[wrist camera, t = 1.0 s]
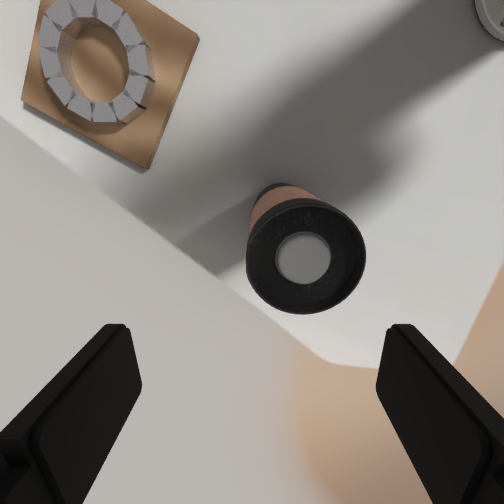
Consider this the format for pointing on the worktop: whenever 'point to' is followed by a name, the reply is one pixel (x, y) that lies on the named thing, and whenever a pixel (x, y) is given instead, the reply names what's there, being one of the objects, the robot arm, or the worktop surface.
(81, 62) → the board
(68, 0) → the grey segmented ring
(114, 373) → the robot arm
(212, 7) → the worktop surface
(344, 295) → the travel mug
